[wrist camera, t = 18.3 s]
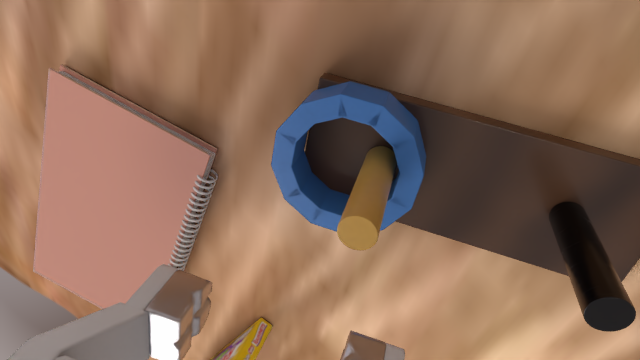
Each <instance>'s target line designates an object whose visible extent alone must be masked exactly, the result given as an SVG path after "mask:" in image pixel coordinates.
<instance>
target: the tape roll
mask: <svg viewBox="0 0 640 360" xmlns="http://www.w3.org/2000/svg"><path fill="white" fill-rule="evenodd" d="M342 117H343V118H346V119H350V120H353V121H356V122H360V123H363V124H367V125H370V126H372V127H373V128H374V129H375V130H376V131H377V132H378V133H379V134H380V135H381V136H382V137H383V138H384V139H385V140H386V141H387V142H388V143H389V144H390V145H391V146H392V147H393V150H394V154H395V157H396V161H397V165H398V168H399V171H398V174H397V177H396V179H394V180H393V181H392V184H391V188H390V192H389V196H388V200H387V204H386V208H385V212H384V216H383V220H382V224H381V228H380V231H381V230H383V229H385V228H386V227H388V226H389V225H390V224H392V223H393V222H394V221H396V220H397V219H399V218H400V217H401V216H403V215H404V214H405V213H407V212H408V211H409V210H411V209H412V207H413V204H414V201H415V199H416V196H417V193H418V191H419V188H420V185H421V183H422V180H423V177H424V172H425V163H426V152H425V148H424V144H423V140H422V136H421V132H420V127H419V123H418V121H417V119H416V118H415V117H414V116H413V115H412V114H411V113H410V112H409V111H408V110H407V109H406V108H405V107H404V106H403V105H402V104H401V103H400V102H399V101H398V100H397V99H396V98H395V97H394V96H393V95H392V94H391V93H390V92H387V91H384V90H380V89H377V88H373V87H369V86H366V85H362V84H359V83H355V82H351V81H349V82H345V83H341V84H337V85H334V86H330V87H326V88H322V89H318V90H315V91H313V92H312V93H311V94H310V95H309V96H308V97H307V98H306V99H305V100H304V101H303V103H302V104H301V105H300V106H299V107H298V108H297V109H296V110H295V111H294V112H293V113H292V114H291V115H290V117H289V118H288V119H287V120H286V121H285V122H284V123H283V124H282V125H281V126H280V127H279V128H278V129H277V131H276V137H275V144H274V150H273V156H272V163H271V165H272V169H273V171H274V174H275V176H276V179H277V181H278V184H279V187H280V189H281V192H282V194H283V197H284V199H285V200H286V201H287V202H288V203H289V204H291V205H292V206H293V207H294V208H295V209H296V210H297V211H298V212H299V213H300V214H302V215H303V216H304V217H305V218H306V219H307V220H308V221H309V222H310V223H312V224H315V225H318V226H321V227H324V228H328V229H331V230H334V231H337V227H338V224H339V221H340V219H341V216H342V214H343V212H344V209H345V207H346V204H347V202H348V199H349V197H350V195H347V194H344V193H341V192H338V191H334V190H331V189H330V188H328V187H327V186H326V185H325V184H324V183H323V182H322V181H321V180H320V179H319V178H318V177H317V176H316V175H314V174H313V173H312V171H311V169H310V166H309V163H308V160H307V157H306V155H305V152H304V147H305V142H306V137H307V132H308V130H309V129H310V128H311V127H312V126H313V125H314V124H317V123H321V122H325V121H329V120H334V119H338V118H342Z"/></svg>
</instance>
